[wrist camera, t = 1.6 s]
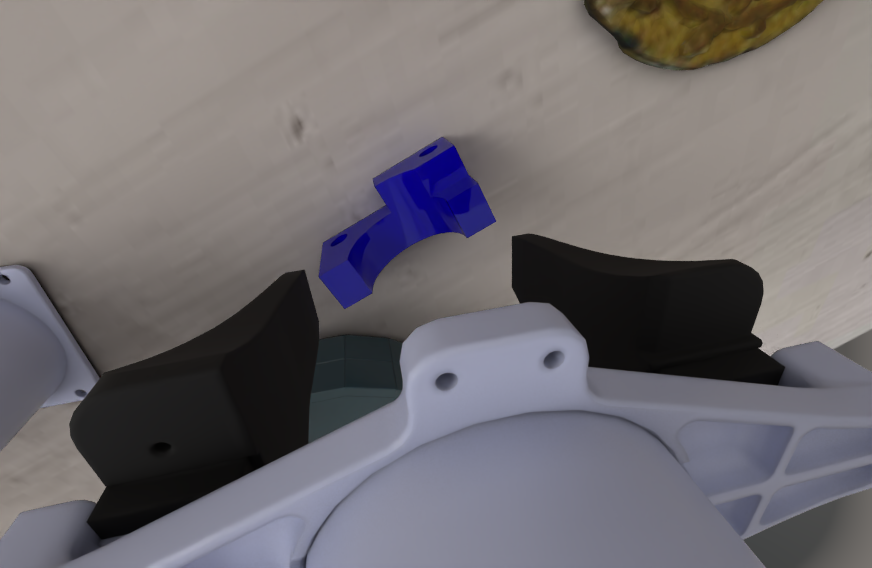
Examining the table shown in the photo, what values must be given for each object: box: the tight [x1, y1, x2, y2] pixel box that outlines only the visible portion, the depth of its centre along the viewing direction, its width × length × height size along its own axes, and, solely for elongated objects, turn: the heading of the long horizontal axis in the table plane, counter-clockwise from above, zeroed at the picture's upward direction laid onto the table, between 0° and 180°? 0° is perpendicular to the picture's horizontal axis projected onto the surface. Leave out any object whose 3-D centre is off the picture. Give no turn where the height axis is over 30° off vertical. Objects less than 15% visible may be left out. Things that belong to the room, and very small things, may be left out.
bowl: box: [308, 335, 403, 444], centre depth 26 cm, size 16×16×5 cm
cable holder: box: [319, 137, 496, 309], centre depth 19 cm, size 8×4×4 cm, turn 119°
